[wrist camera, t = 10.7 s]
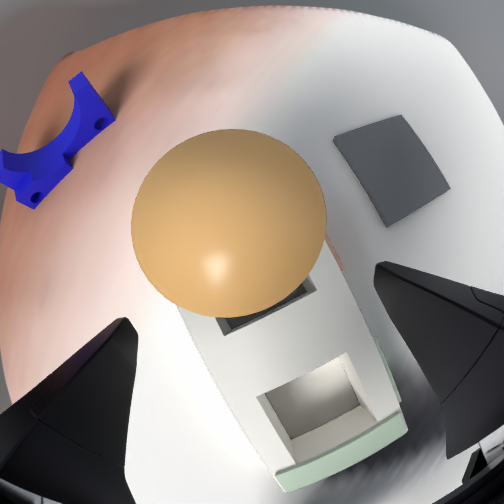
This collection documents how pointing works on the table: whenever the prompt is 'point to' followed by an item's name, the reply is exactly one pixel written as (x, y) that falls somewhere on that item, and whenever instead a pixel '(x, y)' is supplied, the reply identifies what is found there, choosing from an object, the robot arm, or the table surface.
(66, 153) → the cable clip
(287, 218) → the plug
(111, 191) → the table surface
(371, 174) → the mat
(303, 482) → the socket panel
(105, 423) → the robot arm
